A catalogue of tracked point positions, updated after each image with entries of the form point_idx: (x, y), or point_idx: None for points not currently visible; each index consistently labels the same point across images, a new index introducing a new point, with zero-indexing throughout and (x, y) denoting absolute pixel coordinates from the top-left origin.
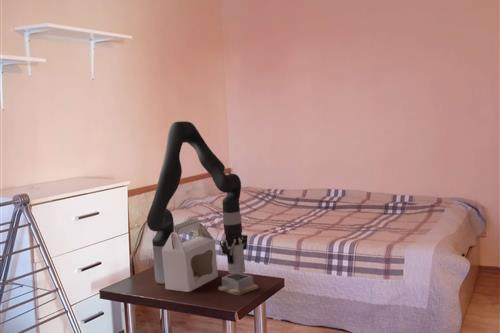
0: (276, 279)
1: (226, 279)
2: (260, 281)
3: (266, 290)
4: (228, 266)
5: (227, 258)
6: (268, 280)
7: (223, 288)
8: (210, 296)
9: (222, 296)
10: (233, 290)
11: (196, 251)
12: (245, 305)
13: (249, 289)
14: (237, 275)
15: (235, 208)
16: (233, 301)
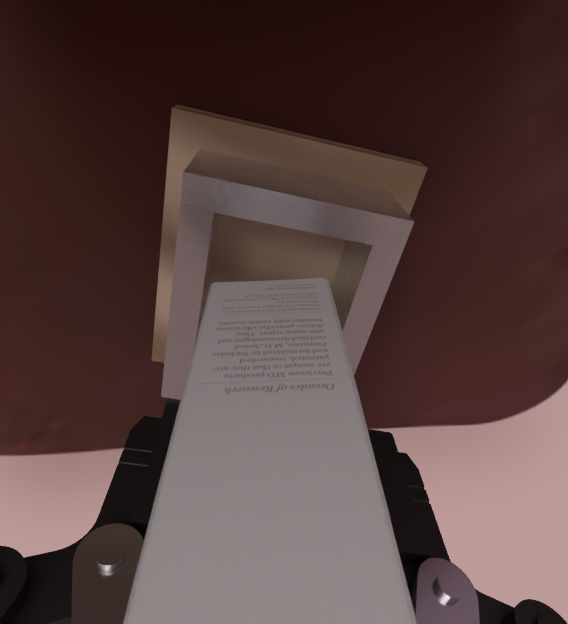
0: (536, 391)
1: (177, 250)
2: (480, 322)
3: None
4: (197, 337)
5: (177, 417)
6: (510, 358)
7: (165, 193)
8: (5, 154)
9: (74, 253)
10: (169, 302)
11: None
12: (56, 453)
13: None
14: (361, 256)
15: None
16: (55, 373)
